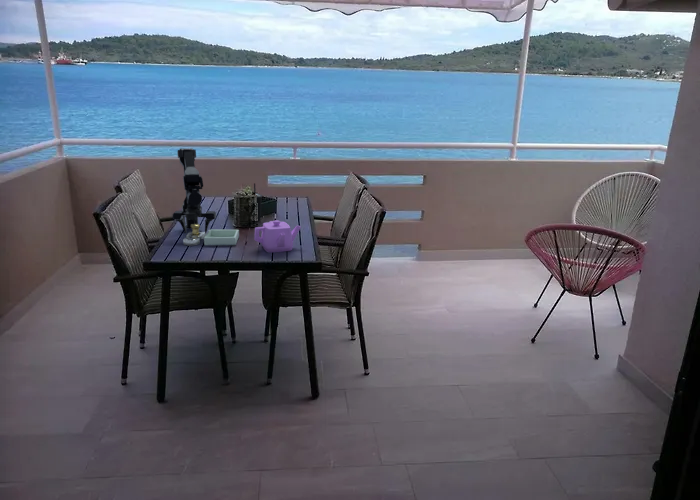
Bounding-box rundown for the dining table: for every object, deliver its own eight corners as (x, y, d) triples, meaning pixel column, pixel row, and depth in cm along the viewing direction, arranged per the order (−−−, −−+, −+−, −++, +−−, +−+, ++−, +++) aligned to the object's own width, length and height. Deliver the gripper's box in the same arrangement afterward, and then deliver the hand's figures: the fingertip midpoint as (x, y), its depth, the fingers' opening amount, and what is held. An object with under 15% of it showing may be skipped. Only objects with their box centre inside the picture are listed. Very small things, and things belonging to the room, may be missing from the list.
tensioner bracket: (189, 234, 238) (189, 229, 237) (205, 234, 238) (205, 229, 238) (181, 245, 221) (180, 240, 220) (198, 245, 222) (198, 240, 221)
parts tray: (209, 236, 236) (209, 229, 235) (239, 236, 237) (238, 229, 236) (204, 245, 223) (204, 237, 222) (235, 245, 224) (235, 237, 223)
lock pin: (192, 236, 236) (191, 223, 234) (201, 236, 236) (200, 223, 235) (190, 238, 232) (189, 226, 230) (199, 238, 233) (198, 226, 231)
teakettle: (270, 240, 234) (270, 214, 230) (302, 245, 228) (302, 219, 224) (250, 250, 219) (249, 222, 215) (283, 255, 213) (283, 227, 209)
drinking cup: (248, 222, 263) (247, 184, 257) (247, 219, 270) (246, 182, 264) (263, 222, 265) (262, 184, 259) (262, 218, 272) (261, 182, 266)
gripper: (168, 204, 220) (171, 237, 225) (211, 204, 222) (213, 238, 227) (174, 198, 231) (176, 231, 236) (215, 199, 233) (217, 231, 238)
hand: (195, 233), depth 234 cm, fingers open, 9 cm apart
